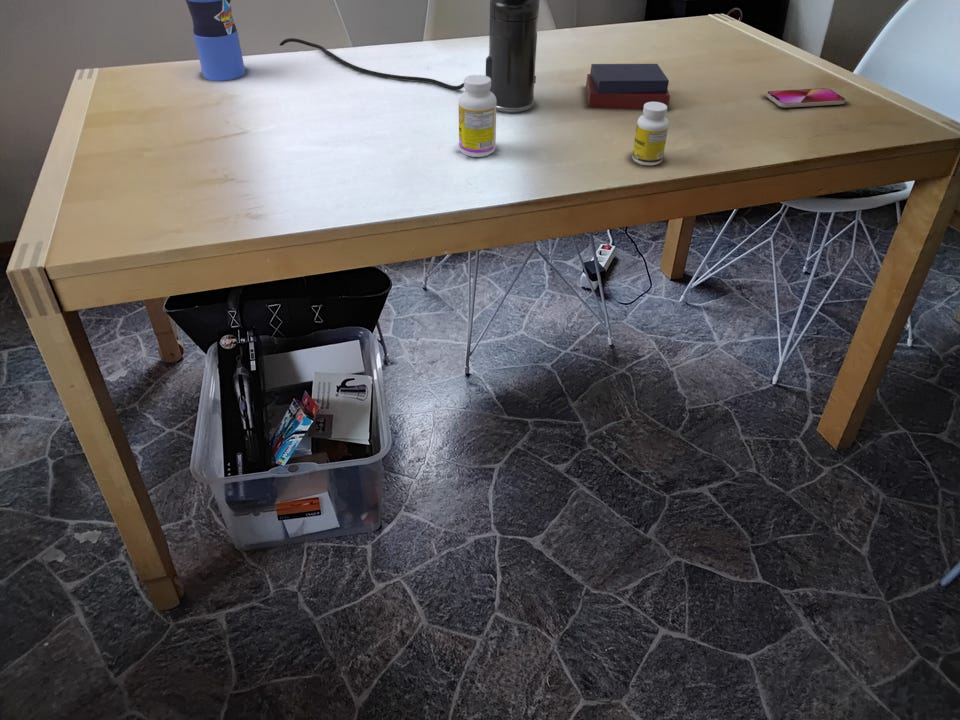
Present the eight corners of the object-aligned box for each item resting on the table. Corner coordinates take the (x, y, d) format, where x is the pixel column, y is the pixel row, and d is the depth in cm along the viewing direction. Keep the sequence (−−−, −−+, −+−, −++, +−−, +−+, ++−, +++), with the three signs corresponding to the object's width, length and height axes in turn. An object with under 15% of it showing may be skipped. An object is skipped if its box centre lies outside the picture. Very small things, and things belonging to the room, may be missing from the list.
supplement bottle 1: (465, 140, 135) (465, 70, 127) (499, 145, 134) (502, 75, 125) (453, 155, 130) (452, 83, 122) (488, 160, 129) (490, 88, 120)
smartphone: (848, 100, 150) (782, 104, 147) (846, 105, 151) (781, 109, 148) (828, 87, 155) (764, 91, 153) (826, 92, 156) (763, 95, 153)
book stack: (588, 107, 148) (591, 80, 144) (585, 87, 156) (588, 61, 153) (667, 110, 147) (672, 83, 144) (660, 89, 156) (664, 63, 152)
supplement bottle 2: (628, 153, 132) (636, 100, 125) (657, 152, 132) (666, 99, 126) (636, 167, 127) (645, 112, 121) (666, 165, 128) (676, 111, 122)
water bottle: (194, 78, 158) (162, -51, 142) (215, 64, 165) (188, -61, 149) (233, 82, 156) (205, -48, 140) (253, 68, 163) (229, -58, 147)
